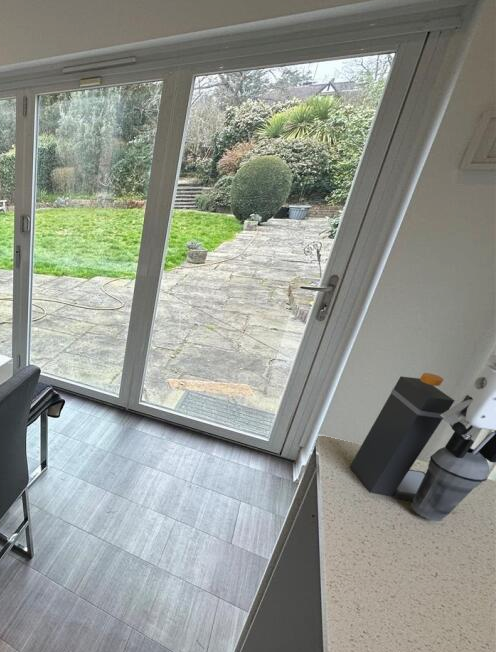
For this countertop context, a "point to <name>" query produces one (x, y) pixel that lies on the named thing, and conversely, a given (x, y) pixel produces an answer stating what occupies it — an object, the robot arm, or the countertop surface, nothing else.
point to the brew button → (431, 379)
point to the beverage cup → (449, 481)
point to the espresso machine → (400, 439)
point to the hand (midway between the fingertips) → (469, 454)
